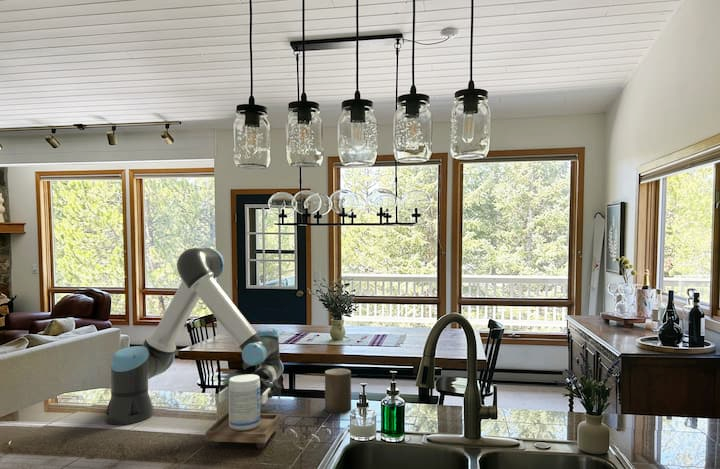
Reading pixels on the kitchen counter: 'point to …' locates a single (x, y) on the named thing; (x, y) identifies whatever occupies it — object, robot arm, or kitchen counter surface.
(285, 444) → the kitchen counter surface
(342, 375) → the pillar candle
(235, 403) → the supplement tub
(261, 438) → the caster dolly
